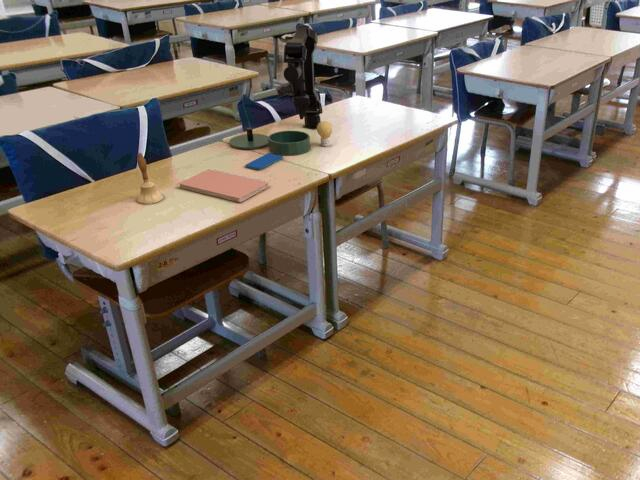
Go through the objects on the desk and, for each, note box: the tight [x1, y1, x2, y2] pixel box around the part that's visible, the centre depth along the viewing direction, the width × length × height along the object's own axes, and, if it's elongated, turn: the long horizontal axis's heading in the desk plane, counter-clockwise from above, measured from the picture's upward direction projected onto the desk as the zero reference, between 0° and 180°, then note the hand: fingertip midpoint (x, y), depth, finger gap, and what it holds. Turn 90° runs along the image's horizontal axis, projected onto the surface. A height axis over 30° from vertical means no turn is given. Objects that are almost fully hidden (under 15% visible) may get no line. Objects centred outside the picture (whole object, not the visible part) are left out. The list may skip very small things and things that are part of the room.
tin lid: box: [228, 127, 269, 150], centre depth 261 cm, size 17×17×6 cm
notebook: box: [177, 169, 270, 203], centre depth 222 cm, size 27×17×2 cm, turn 63°
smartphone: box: [245, 152, 284, 171], centre depth 243 cm, size 7×1×15 cm
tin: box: [267, 130, 311, 157], centre depth 256 cm, size 16×16×5 cm
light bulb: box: [316, 120, 334, 147], centre depth 259 cm, size 6×6×10 cm
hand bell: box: [136, 152, 164, 205], centre depth 209 cm, size 8×8×16 cm
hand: (299, 116), depth 255 cm, fingers open, 9 cm apart
